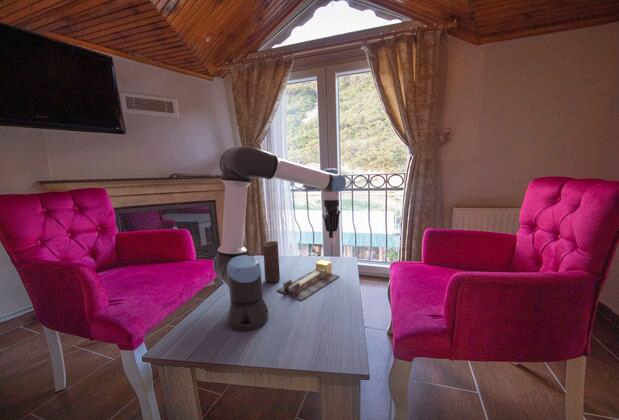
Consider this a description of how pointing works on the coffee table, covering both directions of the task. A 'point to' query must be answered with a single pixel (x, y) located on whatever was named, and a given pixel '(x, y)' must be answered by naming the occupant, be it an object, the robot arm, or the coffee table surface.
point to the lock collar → (324, 267)
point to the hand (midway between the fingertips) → (332, 243)
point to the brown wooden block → (271, 261)
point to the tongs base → (306, 286)
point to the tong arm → (306, 279)
